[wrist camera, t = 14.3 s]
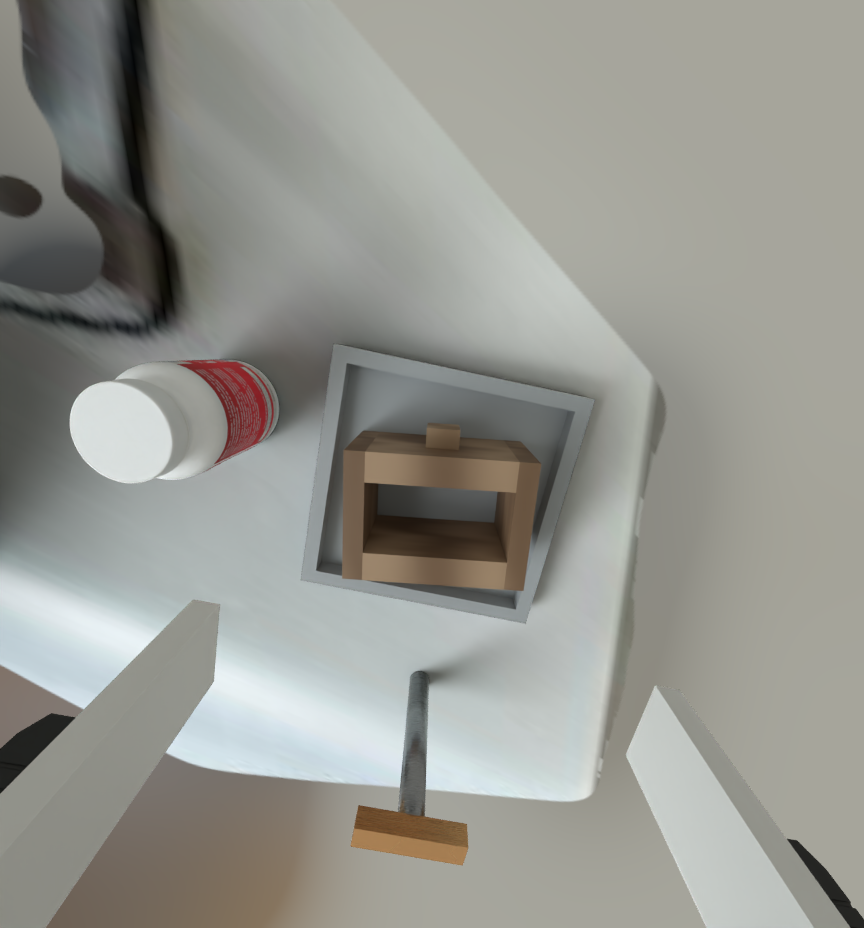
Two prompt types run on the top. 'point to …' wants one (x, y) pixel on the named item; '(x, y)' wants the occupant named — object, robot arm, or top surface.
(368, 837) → the t-shaped peg
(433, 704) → the top surface
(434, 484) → the brown wooden open box
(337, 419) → the tray
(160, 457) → the pill bottle
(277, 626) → the top surface
